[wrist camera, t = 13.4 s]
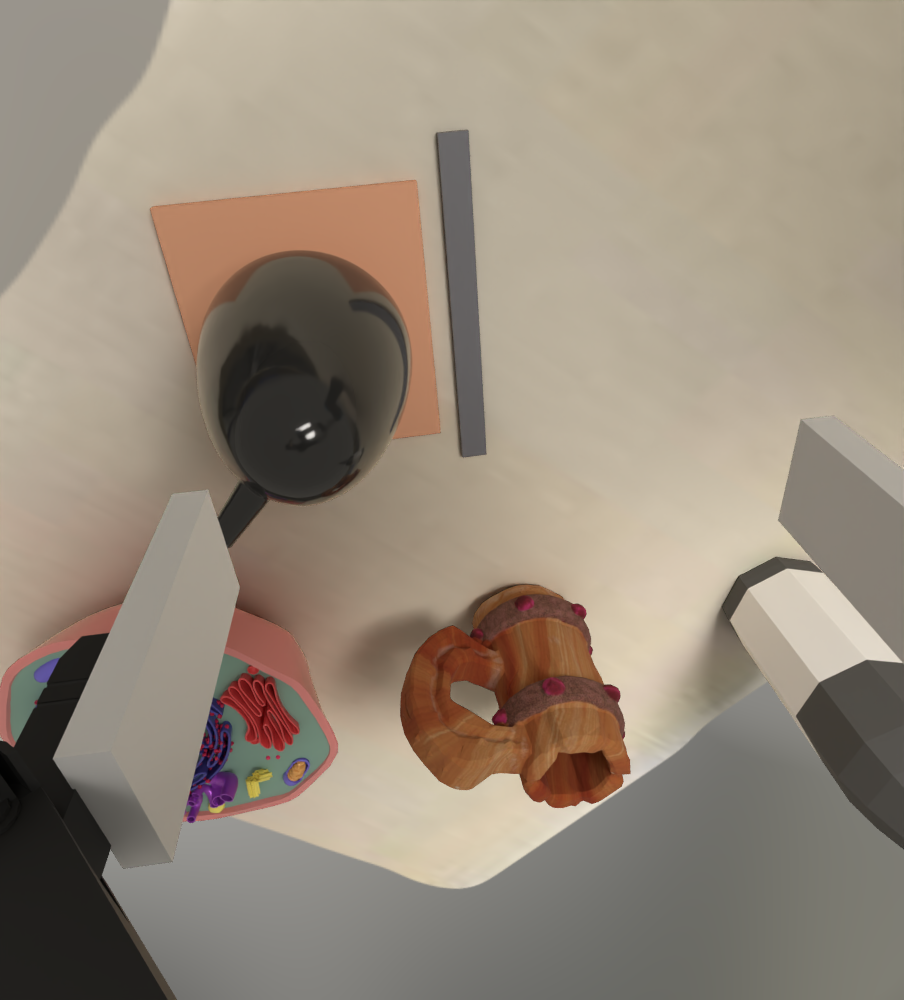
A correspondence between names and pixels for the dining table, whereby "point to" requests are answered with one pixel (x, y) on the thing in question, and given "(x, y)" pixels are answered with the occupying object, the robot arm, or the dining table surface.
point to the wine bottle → (829, 680)
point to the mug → (519, 702)
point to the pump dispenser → (300, 380)
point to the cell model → (218, 715)
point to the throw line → (462, 286)
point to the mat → (315, 227)
